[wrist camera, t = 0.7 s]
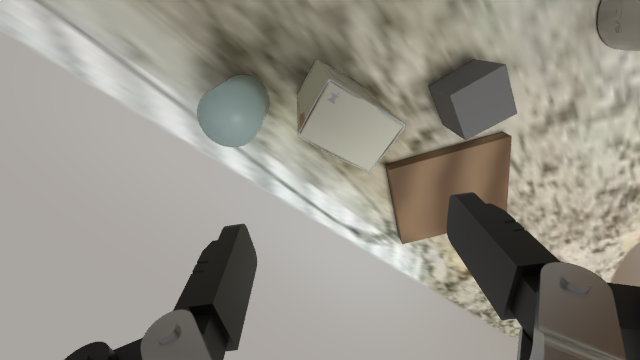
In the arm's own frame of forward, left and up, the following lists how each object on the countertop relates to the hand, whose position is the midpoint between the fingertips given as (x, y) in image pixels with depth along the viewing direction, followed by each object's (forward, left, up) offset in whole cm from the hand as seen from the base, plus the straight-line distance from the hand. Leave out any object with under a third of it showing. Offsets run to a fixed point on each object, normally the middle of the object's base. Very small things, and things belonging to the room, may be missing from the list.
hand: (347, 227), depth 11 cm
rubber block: (-15, +3, -21) cm, 26 cm away
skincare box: (-2, -1, -21) cm, 21 cm away
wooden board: (-13, +15, -21) cm, 29 cm away
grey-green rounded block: (+7, -3, -21) cm, 22 cm away
